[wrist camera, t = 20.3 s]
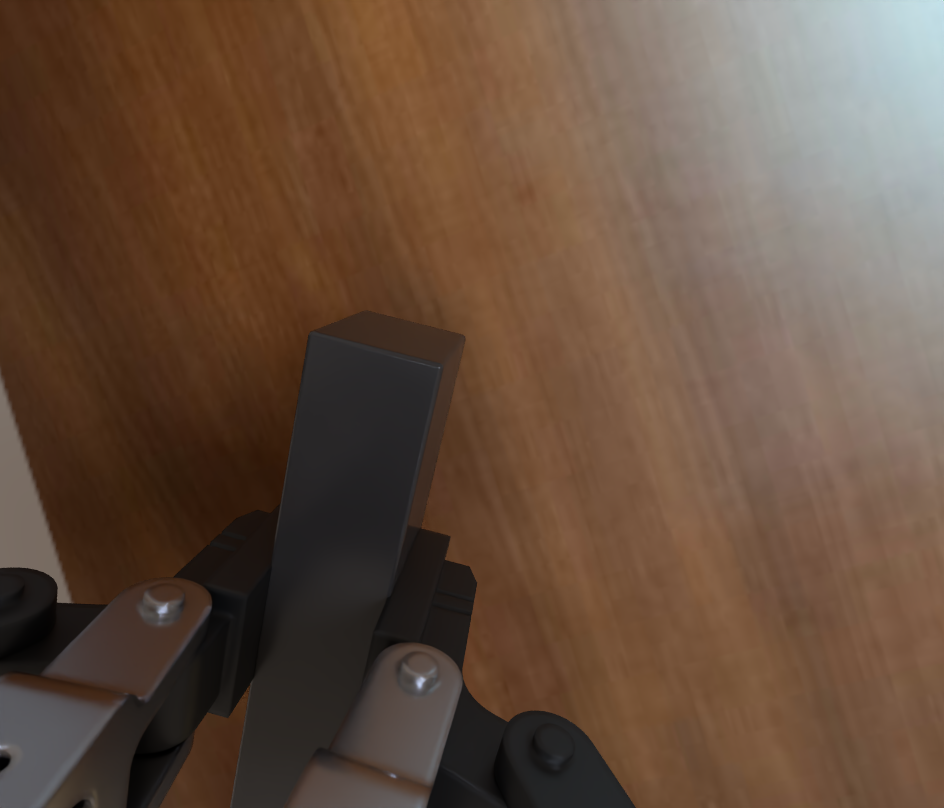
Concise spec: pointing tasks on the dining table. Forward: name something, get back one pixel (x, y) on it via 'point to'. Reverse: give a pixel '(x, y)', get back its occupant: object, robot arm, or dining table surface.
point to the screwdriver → (341, 533)
